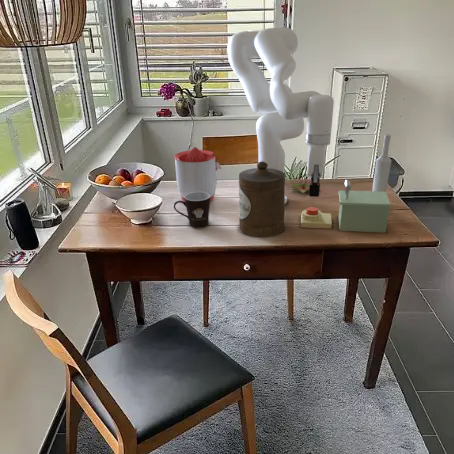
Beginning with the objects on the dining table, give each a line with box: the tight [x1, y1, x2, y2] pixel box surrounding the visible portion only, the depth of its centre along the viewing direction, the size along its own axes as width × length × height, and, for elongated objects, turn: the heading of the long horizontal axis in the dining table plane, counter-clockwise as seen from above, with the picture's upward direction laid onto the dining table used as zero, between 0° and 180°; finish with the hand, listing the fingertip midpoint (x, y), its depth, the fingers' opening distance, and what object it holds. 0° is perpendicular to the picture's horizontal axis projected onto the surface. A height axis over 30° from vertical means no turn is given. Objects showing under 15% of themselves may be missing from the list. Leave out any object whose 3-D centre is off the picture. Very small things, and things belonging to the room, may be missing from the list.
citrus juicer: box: [173, 146, 223, 202], centre depth 176 cm, size 16×17×20 cm
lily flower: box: [289, 178, 311, 194], centre depth 187 cm, size 12×12×5 cm
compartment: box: [337, 204, 391, 234], centre depth 156 cm, size 15×12×9 cm
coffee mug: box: [173, 192, 211, 229], centre depth 159 cm, size 12×9×10 cm
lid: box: [337, 179, 391, 208], centre depth 152 cm, size 16×12×5 cm
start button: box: [306, 206, 319, 215], centre depth 159 cm, size 4×4×2 cm
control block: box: [300, 209, 333, 229], centre depth 160 cm, size 10×9×4 cm
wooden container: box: [238, 161, 286, 238], centre depth 152 cm, size 15×15×22 cm
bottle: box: [371, 133, 392, 193], centre depth 166 cm, size 5×5×25 cm
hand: (313, 195), depth 156 cm, fingers closed
